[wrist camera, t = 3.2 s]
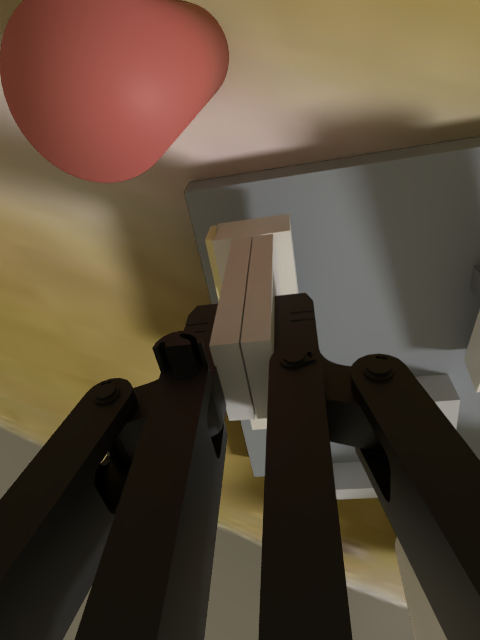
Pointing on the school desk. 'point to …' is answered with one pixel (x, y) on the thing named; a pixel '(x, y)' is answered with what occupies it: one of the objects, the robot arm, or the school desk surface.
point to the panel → (374, 267)
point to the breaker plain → (474, 355)
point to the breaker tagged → (275, 225)
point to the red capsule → (109, 79)
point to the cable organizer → (417, 601)
